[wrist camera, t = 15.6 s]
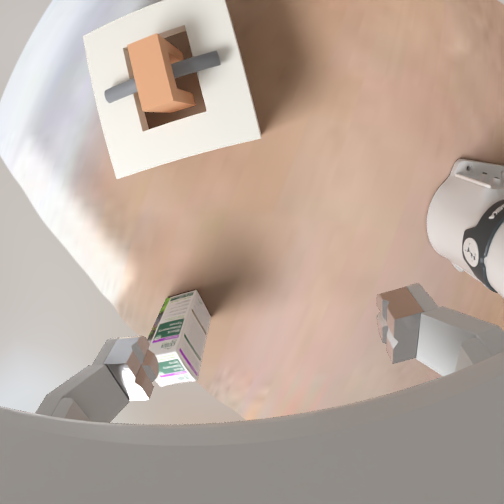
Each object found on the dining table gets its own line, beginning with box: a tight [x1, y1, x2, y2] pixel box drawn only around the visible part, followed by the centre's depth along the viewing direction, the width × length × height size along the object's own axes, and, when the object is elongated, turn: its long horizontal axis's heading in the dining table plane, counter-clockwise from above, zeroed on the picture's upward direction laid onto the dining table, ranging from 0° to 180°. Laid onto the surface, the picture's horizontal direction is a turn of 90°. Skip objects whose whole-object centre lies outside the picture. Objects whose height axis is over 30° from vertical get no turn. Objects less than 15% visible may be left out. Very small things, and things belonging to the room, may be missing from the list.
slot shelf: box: [83, 0, 261, 179], centre depth 31 cm, size 16×18×12 cm
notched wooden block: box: [127, 33, 195, 113], centre depth 28 cm, size 3×7×10 cm, turn 13°
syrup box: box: [147, 290, 211, 387], centre depth 43 cm, size 6×6×14 cm
